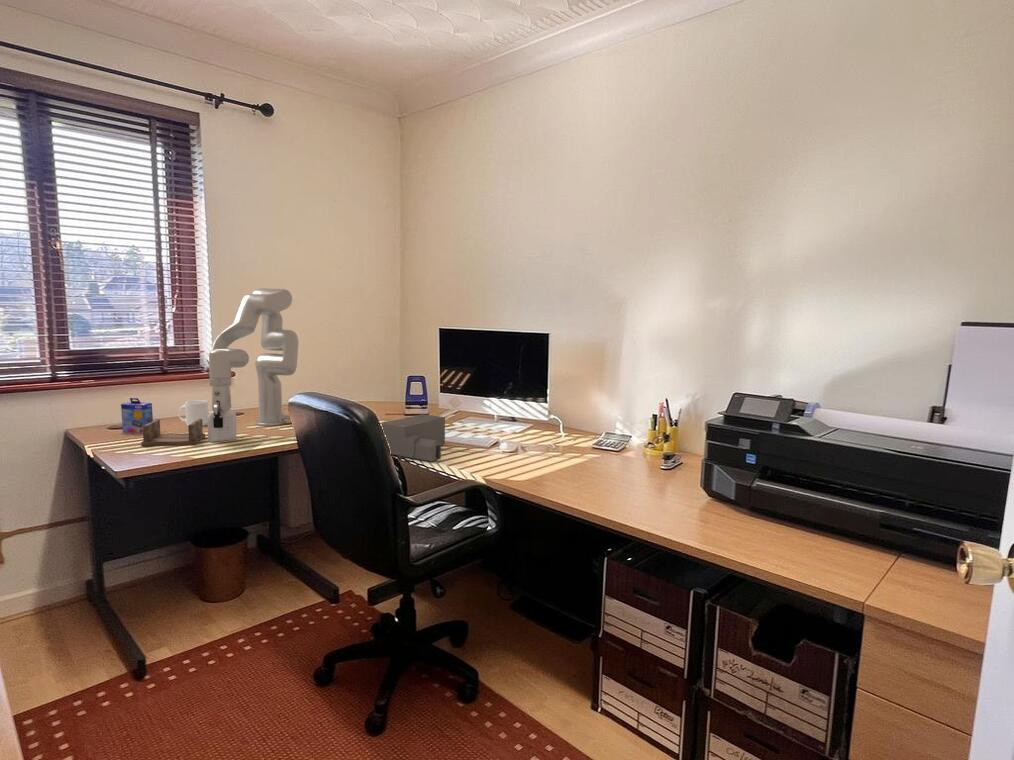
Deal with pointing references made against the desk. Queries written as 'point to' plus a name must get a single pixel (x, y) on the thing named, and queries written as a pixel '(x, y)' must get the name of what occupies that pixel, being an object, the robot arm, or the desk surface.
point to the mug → (195, 411)
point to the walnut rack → (171, 435)
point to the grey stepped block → (416, 436)
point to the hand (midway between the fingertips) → (221, 425)
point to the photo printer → (228, 427)
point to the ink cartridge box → (135, 416)
